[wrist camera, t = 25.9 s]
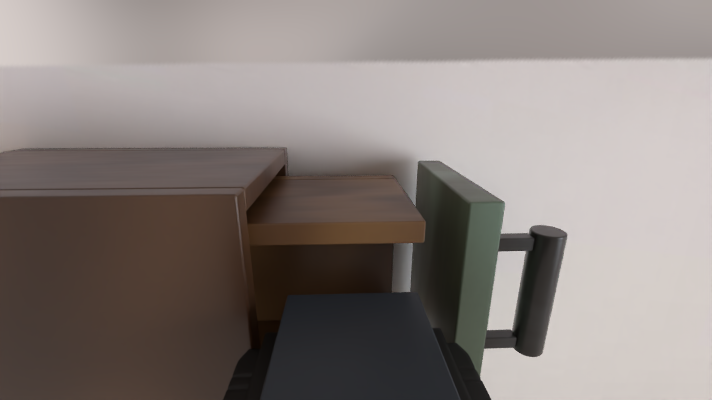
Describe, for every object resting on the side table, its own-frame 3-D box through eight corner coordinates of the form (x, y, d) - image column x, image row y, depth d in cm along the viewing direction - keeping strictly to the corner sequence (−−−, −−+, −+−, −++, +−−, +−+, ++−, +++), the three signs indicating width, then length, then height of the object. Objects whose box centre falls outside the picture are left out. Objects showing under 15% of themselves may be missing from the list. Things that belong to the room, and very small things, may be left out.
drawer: (516, 160, 18) (632, 200, 11) (492, 322, 21) (569, 435, 14) (200, 161, 17) (103, 206, 10) (224, 330, 20) (162, 454, 13)
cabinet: (286, 147, 18) (236, 194, 9) (297, 326, 21) (268, 485, 13) (24, 148, 17) (-298, 200, 8) (79, 333, 21) (-110, 504, 12)
